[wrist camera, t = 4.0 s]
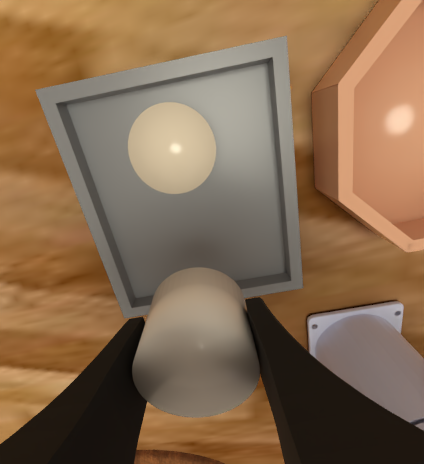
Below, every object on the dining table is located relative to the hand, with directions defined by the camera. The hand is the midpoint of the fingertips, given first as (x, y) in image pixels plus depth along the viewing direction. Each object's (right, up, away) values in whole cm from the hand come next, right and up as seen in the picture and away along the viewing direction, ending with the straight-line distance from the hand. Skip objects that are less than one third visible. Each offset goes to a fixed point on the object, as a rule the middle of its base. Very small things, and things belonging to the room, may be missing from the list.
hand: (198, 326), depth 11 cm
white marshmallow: (0, +1, +1) cm, 1 cm away
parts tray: (-1, +7, +7) cm, 10 cm away
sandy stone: (-1, +10, +5) cm, 11 cm away
